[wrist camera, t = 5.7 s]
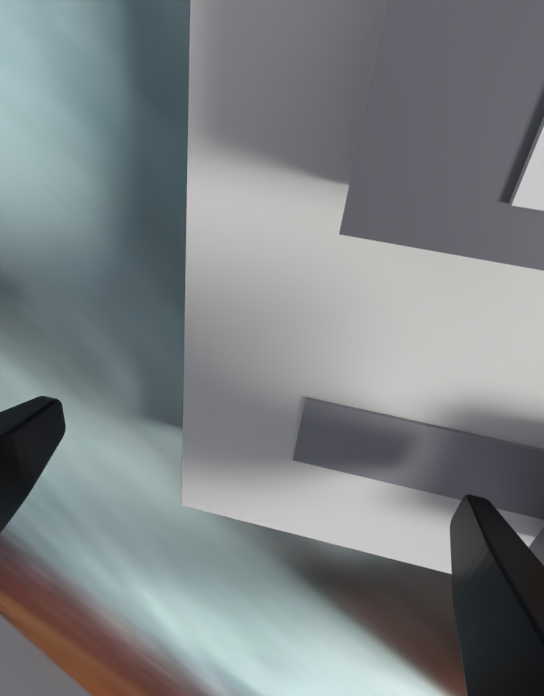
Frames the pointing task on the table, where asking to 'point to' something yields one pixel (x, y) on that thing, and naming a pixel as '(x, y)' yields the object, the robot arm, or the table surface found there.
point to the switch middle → (454, 132)
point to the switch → (538, 546)
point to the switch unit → (337, 311)
